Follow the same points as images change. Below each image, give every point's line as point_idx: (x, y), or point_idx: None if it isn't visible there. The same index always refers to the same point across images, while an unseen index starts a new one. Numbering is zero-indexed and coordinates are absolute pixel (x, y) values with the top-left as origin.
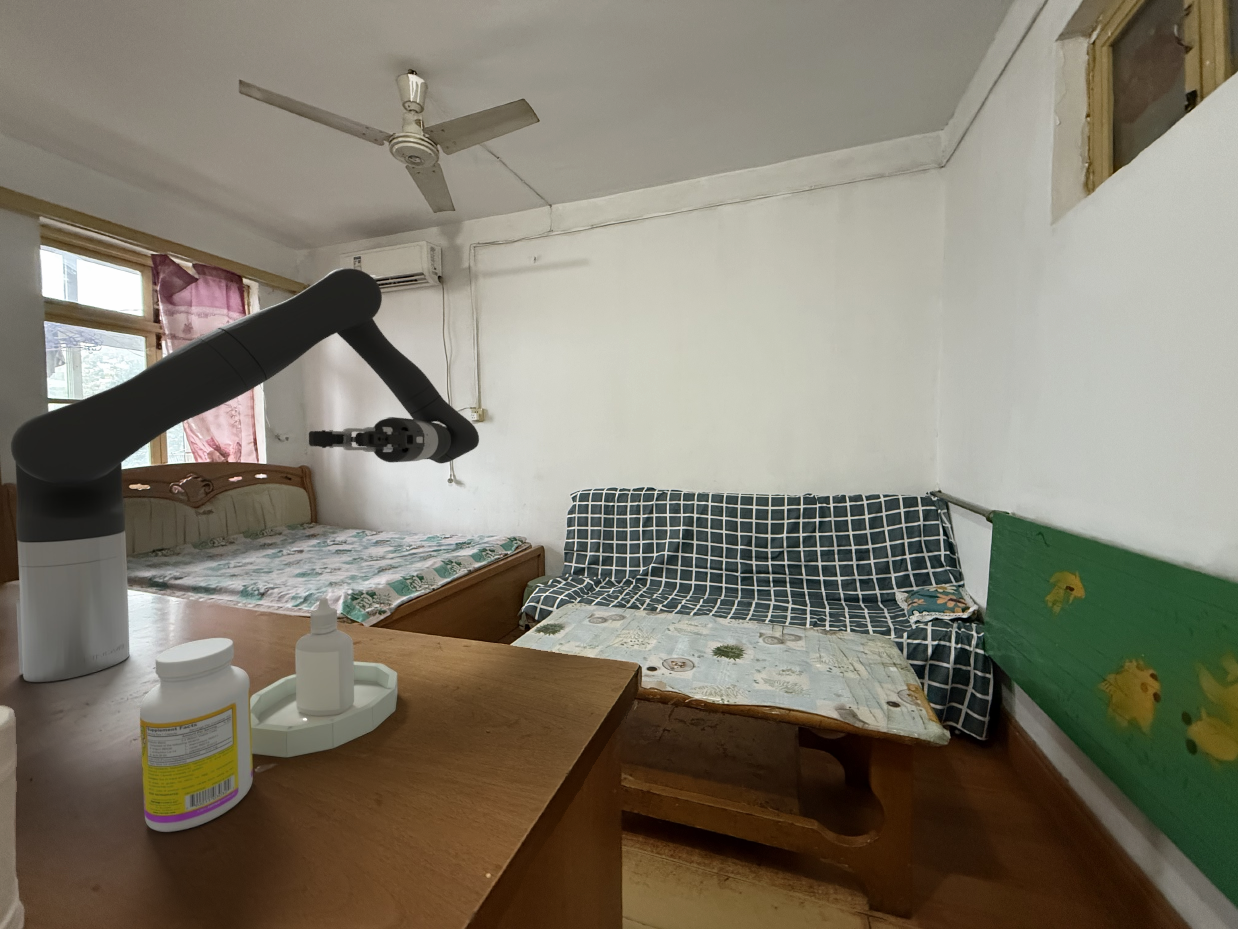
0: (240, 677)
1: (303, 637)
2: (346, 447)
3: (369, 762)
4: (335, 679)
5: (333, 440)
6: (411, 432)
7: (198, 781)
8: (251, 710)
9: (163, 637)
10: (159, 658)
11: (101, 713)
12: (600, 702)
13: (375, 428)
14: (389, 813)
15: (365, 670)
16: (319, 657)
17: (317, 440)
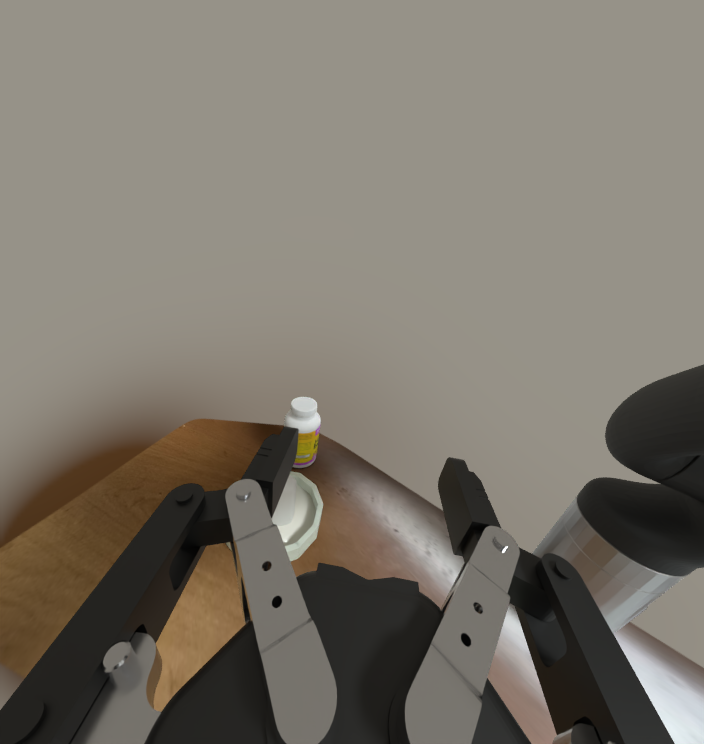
0: (287, 417)
1: (290, 476)
2: (442, 606)
3: (234, 473)
4: None
5: (468, 553)
6: (134, 541)
7: None
8: (312, 490)
9: None
10: (312, 399)
11: (423, 524)
12: (45, 525)
13: (401, 721)
14: (219, 447)
15: None
16: None
17: (445, 484)
